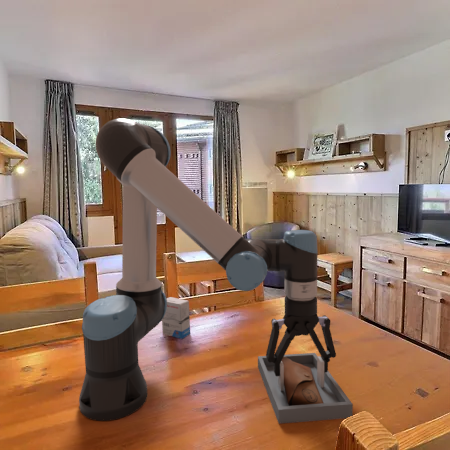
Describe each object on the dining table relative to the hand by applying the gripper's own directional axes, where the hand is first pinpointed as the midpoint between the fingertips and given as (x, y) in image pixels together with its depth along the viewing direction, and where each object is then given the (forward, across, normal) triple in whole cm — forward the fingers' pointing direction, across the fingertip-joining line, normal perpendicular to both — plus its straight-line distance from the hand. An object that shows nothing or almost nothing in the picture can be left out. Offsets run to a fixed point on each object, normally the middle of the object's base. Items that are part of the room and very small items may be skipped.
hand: (300, 385), depth 86 cm
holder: (+1, 0, 0) cm, 1 cm away
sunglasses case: (+1, 0, 0) cm, 1 cm away
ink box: (+1, -31, +36) cm, 48 cm away
